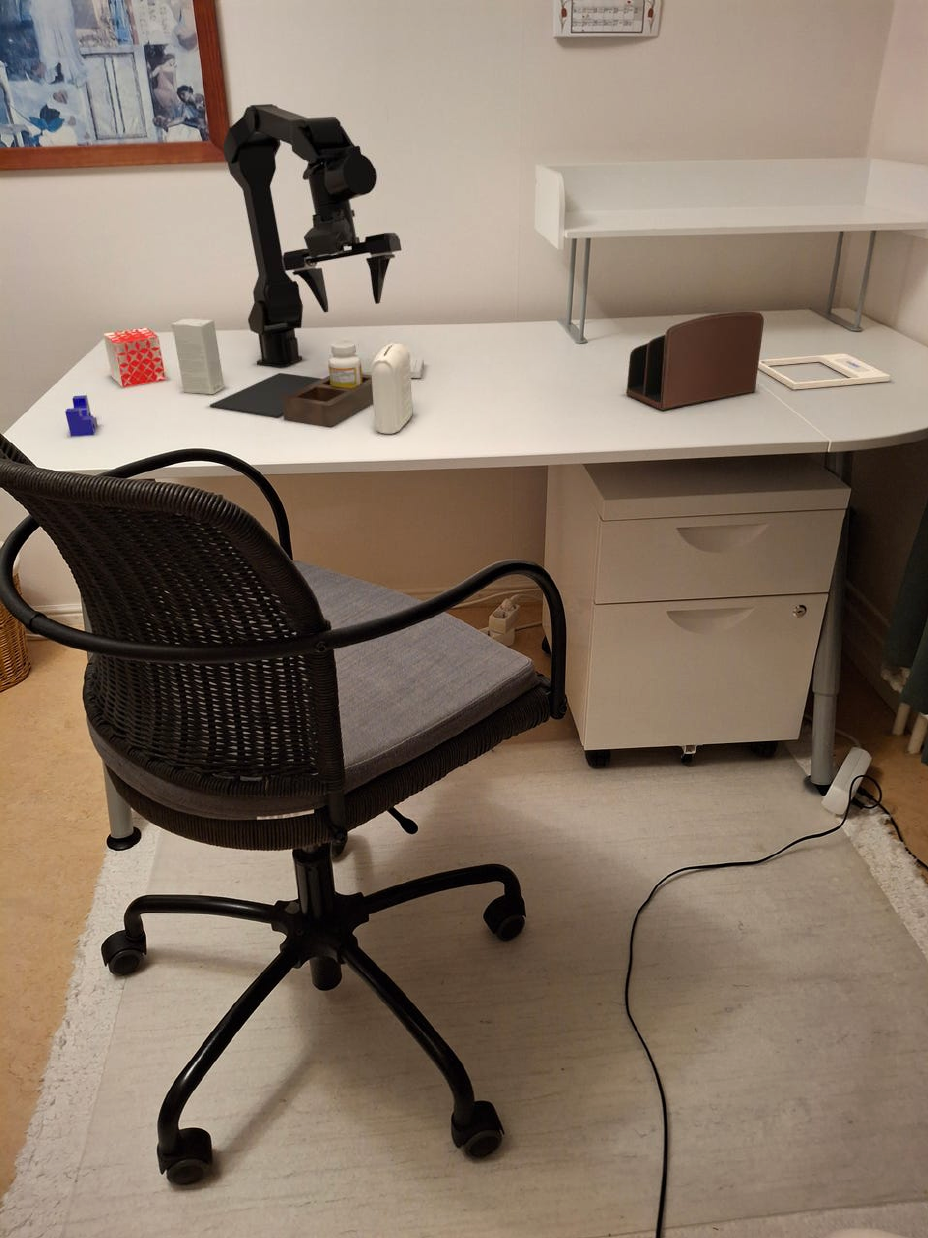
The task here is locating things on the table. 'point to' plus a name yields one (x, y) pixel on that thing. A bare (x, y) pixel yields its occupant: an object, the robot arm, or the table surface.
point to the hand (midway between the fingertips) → (351, 307)
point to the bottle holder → (327, 402)
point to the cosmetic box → (198, 356)
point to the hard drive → (415, 367)
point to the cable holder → (81, 418)
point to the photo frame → (839, 362)
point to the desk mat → (265, 395)
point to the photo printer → (391, 388)
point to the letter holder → (698, 361)
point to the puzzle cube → (135, 357)
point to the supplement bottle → (345, 365)
